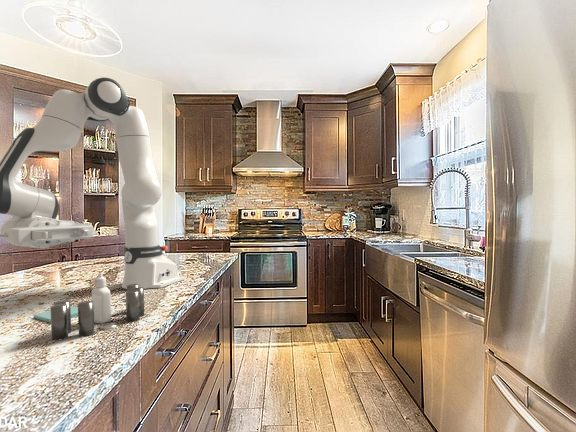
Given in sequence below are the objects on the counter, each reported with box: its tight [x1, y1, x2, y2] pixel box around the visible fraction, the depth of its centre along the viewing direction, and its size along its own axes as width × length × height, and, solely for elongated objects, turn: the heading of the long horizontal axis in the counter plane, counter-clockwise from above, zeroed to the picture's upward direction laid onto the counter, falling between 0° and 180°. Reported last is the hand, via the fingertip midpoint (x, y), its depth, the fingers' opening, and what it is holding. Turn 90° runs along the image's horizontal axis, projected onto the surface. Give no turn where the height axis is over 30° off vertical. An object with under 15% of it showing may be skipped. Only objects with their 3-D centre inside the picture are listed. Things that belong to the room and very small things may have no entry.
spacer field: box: [49, 284, 145, 341], centre depth 82 cm, size 23×10×7 cm, turn 151°
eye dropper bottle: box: [90, 272, 112, 325], centre depth 84 cm, size 4×6×12 cm
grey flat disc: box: [100, 322, 119, 331], centre depth 80 cm, size 4×4×1 cm
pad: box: [33, 305, 78, 324], centre depth 90 cm, size 9×9×1 cm
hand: (68, 234), depth 90 cm, fingers open, 8 cm apart
